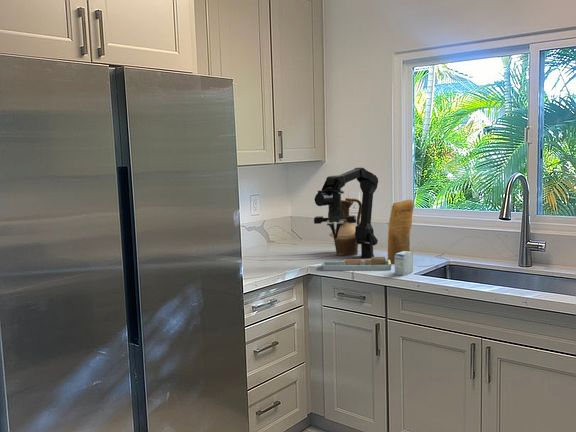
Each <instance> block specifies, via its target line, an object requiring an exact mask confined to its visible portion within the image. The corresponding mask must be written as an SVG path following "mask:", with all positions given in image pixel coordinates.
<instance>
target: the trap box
mask: <svg viewBox="0 0 576 432" xmlns="http://www.w3.org/2000/svg"><path fill="white" fill-rule="evenodd" d="M320 270H321V271H391V270H392V264H391V262H390V260H388V259H387V260H386V265H371V258H360V259H342V260H341V261H340V260H339V261H338V260H337V261H336V260H335V261H333V260H332V261H327V260H326V261H322V263H321V264H320Z"/></svg>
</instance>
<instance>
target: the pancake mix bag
mask: <svg viewBox="0 0 576 432" xmlns="http://www.w3.org/2000/svg"><path fill="white" fill-rule="evenodd" d="M413 213H414V201H413V199H406V200H402V201H399V202H393V203H392V205H391V210H390V214H389V220H388V221H389V222H388V232H387V261H388V260H390V262H391V265H395V254H396V253H399V252H402V251H409V252H411V251H410V249H411V247H410V245H411V243H410V242H411V241H410V240H411V239H410V238H411V237H410V236H411V229H412V224H413Z"/></svg>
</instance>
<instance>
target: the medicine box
mask: <svg viewBox="0 0 576 432" xmlns="http://www.w3.org/2000/svg"><path fill="white" fill-rule="evenodd" d="M413 254H414V253H413V252H412V251H410V252H409V251H402V252H399V253H396V254H395V264H394V275H395V276H396V275H399V276H406V275H408V274H410V273H412V272H414V269H413V268H414V266H413V265H414V255H413Z"/></svg>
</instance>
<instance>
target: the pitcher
mask: <svg viewBox="0 0 576 432" xmlns="http://www.w3.org/2000/svg"><path fill="white" fill-rule="evenodd" d="M344 199H345V200H343V199H341V211H344V217H347V216H350V208H351V207H352V205H353V204H354V202H355V203H357V204H358V212H357V216H356V226H358V225H359V224H360V220H361V208H362V201H360V199H358V198H349V197H345V198H344ZM356 226H355V225H354V223H348V222H347V221H344V224H343V225H341V226H340V228H339V231H338V235H337V239H335V238H334V235H333V232H332V231H331V232H330V233H329V234H328V236H329V237H332V238H333V241H334V246H335V254H336V255H337V256H340V257H341V256H342V257H349V256H356V255H357V254H358V253H359V251H358V249H359V244H357V240H356V238H355V227H356ZM335 234H336V228H335Z"/></svg>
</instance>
